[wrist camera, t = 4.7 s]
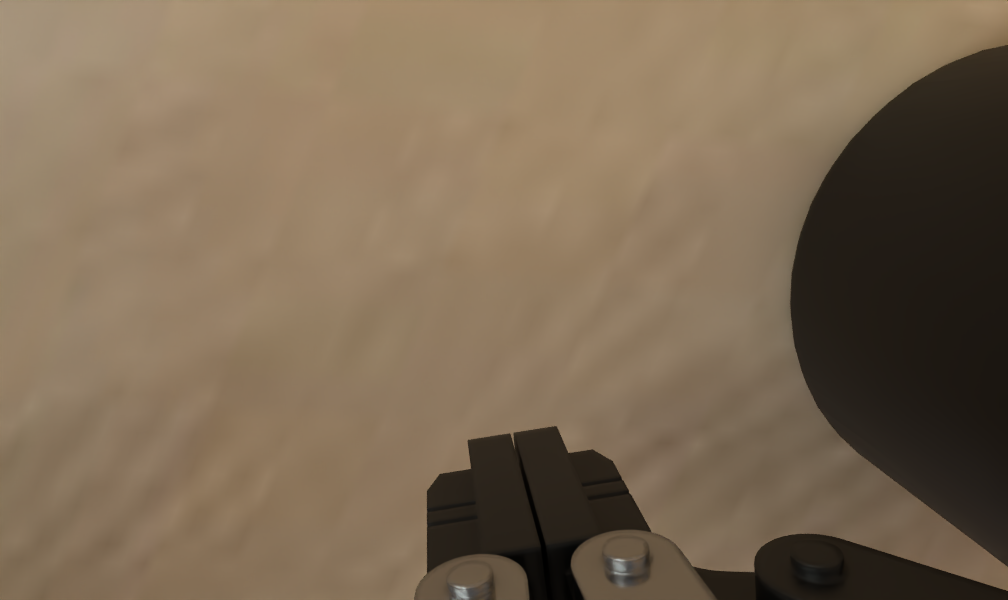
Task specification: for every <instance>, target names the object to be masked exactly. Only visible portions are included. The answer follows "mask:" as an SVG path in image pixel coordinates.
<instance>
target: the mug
mask: <svg viewBox="0 0 1008 600" xmlns="http://www.w3.org/2000/svg"><path fill="white" fill-rule="evenodd" d="M790 305H791V320H792V329H793V338H794V344H795V348H796V352H797V355H798V359H799V363H800V366H801V370H802V373H803V376H804V378H805V381H806V383H807V386H808V388H809V390H810V392H811V394H812V396H813V398H814V400H815V402H816V404H817V406H818V408H819V409H820V411H821V412H822V413H823V415H824V416H825V418H826V419H827V420H828V422H829V423H830V424H831V426H832V427H833V428H834V429H835V431H836V432H837V433H838V434H839V435H840V436H841V437H842V438H843V439H844V440H845V441H846V442H847V443H848V444H849V445H850V446H851V447H852V448H853V449H854V450H855V451H856V452H858V453H859V454H860V455H861V456H863V457H864V458H865V459H867V460H868V461H869V462H871V463H872V464H873V465H875V466H876V467H877V468H879V469H880V470H881V471H883V472H884V473H885V474H886V475H888V476H889V477H890V478H892V479H893V480H894V481H896V482H897V483H898V484H900V485H901V486H902V487H904V488H905V489H906V490H908V491H909V492H910V493H911V494H913V495H914V496H915V497H917V498H918V499H919V500H921V501H922V502H923V503H925V504H926V505H927V506H929V507H930V508H931V509H933V510H934V511H935V512H936V513H938V514H939V515H940V516H942V517H943V518H944V519H946V520H947V521H948V522H950V523H951V524H952V525H954V526H955V527H956V528H958V529H959V530H960V531H961V532H963V533H964V534H965V535H967V536H968V537H969V538H971V539H972V540H973V541H975V542H976V543H977V544H979V545H980V546H981V547H983V548H984V549H985V550H986V551H988V552H989V553H990V554H992V555H993V556H994V557H996V558H997V559H998V560H1000V561H1001V562H1002V563H1004V564H1005V565H1006V566H1008V45H1006V46H1001V47H996V48H991V49H987V50H982V51H980V52H977V53H975V54H972V55H969V56H967V57H964V58H962V59H959V60H956V61H954V62H952V63H950V64H948V65H945V66H943V67H941V68H939V69H938V70H936V71H934V72H932V73H931V74H929V75H927V76H925V77H924V78H922V79H920V80H918V81H917V82H915V83H913V84H912V85H911V86H910V87H908V88H907V89H906V90H904V91H903V92H902V93H901V94H899V95H898V96H897V97H895V98H894V99H893V100H892V101H890V102H889V103H888V104H887V105H886V106H885V107H883V108H882V109H881V110H880V111H879V112H878V113H877V114H876V115H875V116H874V117H873V118H872V119H871V120H870V121H869V122H868V123H867V124H866V125H865V126H864V127H863V128H862V129H861V130H860V131H859V132H858V133H857V134H856V135H855V136H854V137H853V139H852V140H851V141H850V142H849V143H848V145H847V146H846V148H845V149H844V150H843V152H842V153H841V154H840V156H839V157H838V159H837V160H836V161H835V163H834V164H833V166H832V167H831V169H830V170H829V172H828V174H827V175H826V177H825V179H824V181H823V182H822V184H821V186H820V188H819V190H818V192H817V194H816V196H815V198H814V199H813V201H812V203H811V206H810V208H809V211H808V214H807V217H806V220H805V222H804V225H803V228H802V231H801V234H800V237H799V241H798V245H797V250H796V255H795V259H794V264H793V269H792V279H791V299H790Z"/></svg>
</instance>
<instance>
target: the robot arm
mask: <svg viewBox="0 0 1008 600" xmlns="http://www.w3.org/2000/svg"><path fill="white" fill-rule="evenodd" d="M514 446H515V449H514ZM468 448H469V455H470V463H471V469H468V470H462V471H456V472H450V473H443V474H439V476H438V477H437V478H436V480H435V481H434V482H433V484H432V485H431V487H430V488H429V489H428V491H427V574H426V575H425V576H424V577H423V579H422V580H421V581H420V582H419V584H418V586H417V588H416V592H415V597H414V600H1008V591H1006V590H1002V589H999V588H996V587H993V586H990V585H986V584H983V583H980V582H977V581H974V580H971V579H967V578H964V577H961V576H958V575H955V574H951V573H948V572H945V571H942V570H939V569H936V568H932V567H929V566H926V565H923V564H920V563H916V562H913V561H910V560H907V559H904V558H901V557H897V556H894V555H891V554H888V553H885V552H881V551H878V550H875V549H872V548H869V547H866V546H862V545H859V544H856V543H853V542H850V541H846V540H843V539H840V538H836V537H832V536H826V535H819V534H795V535H788V536H783V537H780V538H777V539H774V540H772V541H770V542H768V543H766V544H765V545H764V546H762V547H761V548H760V550H759V551H758V552H757V554H756V556H755V561H754V568H755V572H729V571H713V570H706V569H701V568H697V567H693V566H692V565H691V563H690V562H689V561H688V559H687V558H686V557H685V555H684V554H683V553H682V551H681V550H680V549H679V547H678V546H677V545H676V544H675V543H673V542H672V541H671V540H669V539H667V538H665V537H663V536H661V535H658V534H656V533H652V532H651V530H650V528H649V526H648V525H647V523H646V521H645V519H644V517H643V516H642V514H641V512H640V510H639V508H638V506H637V505H636V503H635V501H634V499H633V497H632V496H631V494H629V490H628V488H627V486H626V485H625V483H624V481H623V480H622V478H621V475H620V474H619V472H618V470H617V468H616V466H615V465H614V463H613V461H611V460H610V459H608V458H606V457H605V456H603V455H601V454H600V453H598V452H596V451H594V450H586V451H580V452H574V453H568V451H567V449H566V447H565V444H564V442H563V440H562V437H561V435H560V433H559V430H558V428H557V426H553V427H547V428H540V429H534V430H528V431H521V432H515V433H514V445H513V442H512V438H511V434H510V433H509V434H503V435H497V436H490V437H484V438H477V439H471V440H468Z"/></svg>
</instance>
